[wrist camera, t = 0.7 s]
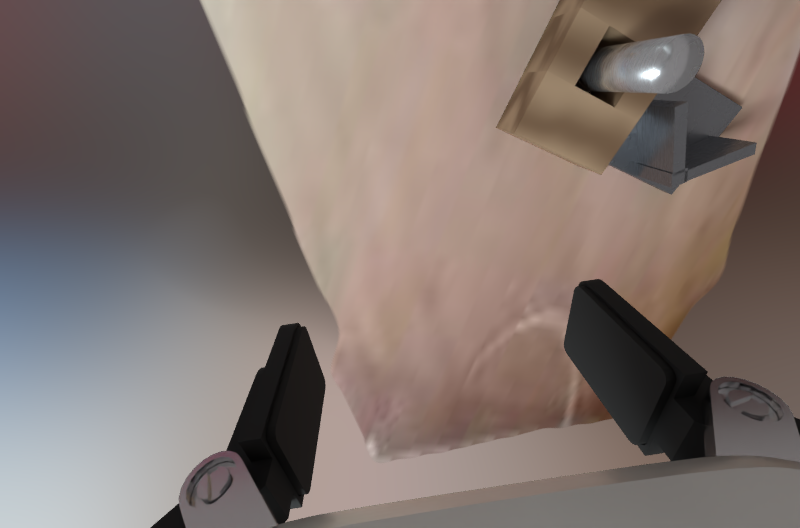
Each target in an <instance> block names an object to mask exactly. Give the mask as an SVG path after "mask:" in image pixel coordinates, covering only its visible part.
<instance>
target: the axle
mask: <svg viewBox="0 0 800 528" xmlns="http://www.w3.org/2000/svg"><path fill="white" fill-rule="evenodd" d="M703 57H704V46H703V42H702V40H701V39H700V38H699V37H698V36H697V35H695V34H689V33H688V34H681V35H675V36H668V37H662V38H656V39H650V40H643V41H637V42H631V43H625V44H618V45H612V46H606V47H600V48H596V50H595V52H594V53H593V55H592V57H591V59H590V60H589V62H588V64H587V66H586V67H585V69H584V71H583V72H582V74H581V76H580V78H579V79H578V81H577V83H576V85H575V86H576V87H578V88H580V89H581V90H583V91H598V92H629V93H661V94H669V93H674V92H677V91H679V90H680V89H682V88H684V87H685V86H686V85H687V84H688V83H690V81H691V80H692V79H693V78H694V77H695V75H696V74H697V72H698V70H699V69H700V66H701V64H702V61H703Z"/></svg>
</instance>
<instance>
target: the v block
mask: <svg viewBox="0 0 800 528" xmlns="http://www.w3.org/2000/svg"><path fill="white" fill-rule="evenodd" d="M741 109H742V107H741V106H740V105H738V104H736V103H735V102H733V101H732V100H730V99H728V98H727V97H725V96H724V95H722V94H721V93H719V92H717V91H716V90H714V89H713V88H711V87H709V86H708V85H706V84H705V83H703V82H702V81H700V80H698V79H697V78H695V77H694V78H693V79H692V80H691V81H690V83H688V84H687V85H686V86H685V87H684V88H682V89H680V90H679V91H677V92H674V93H669V94H661V93H657V95H656V96H655V97H654V99H653V100H652V102H651V103H650V105H649V106H648V108H647V109H646V111H645V112H644V113H643V115H642V116H641V118H640V119H639V121H638V122H637V124H636V125H635V127H634V128H633V129H632V131H631V132H630V134H629V135H628V137H627V138H626V140H625V141H624V143H623V144H622V145H621V147H620V148H619V150H618V151H617V153H616V154H615V156H614V157H613V159H612V160H611V161H610V163H609V164H608V165H610V166H612V167H614V168H616V169H618V170H620V171H622V172H625V173H627V174H629V175H631V176H633V177H635V178H637V179H639V180H641V181H643V182H645V183H647V184H649V185H651V186H653V187H656V188H658V189H660V190H662V191H664V192H666V193H669V194H672V193H673V192H674V191H675V190H676V189H677V187H678V186H679V185H680V184H683V183H685V182H687V181H688V180H690V179H693V178H695V177H698V176H701V175H703V174H706V173H708V172H711V171H713V170H716V169H718V168H721V167H723V166H726V165H728V164H731V163H733V162H736V161H738V160H741V159H743V158H746V157H748V156H751V155H754V154H755V149H756V143H755V142H749V141H742V140H736V139H729V138H722V137H719V136H720V134H721V133H722V132H723V131H724V129H725V128H726V127H727V126H728V125H729V123H730V122H731V121H732V120H733V118H734V117H735V116H736V115H737V114H738V112H739V111H740V110H741Z"/></svg>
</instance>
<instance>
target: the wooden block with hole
mask: <svg viewBox="0 0 800 528" xmlns="http://www.w3.org/2000/svg"><path fill="white" fill-rule="evenodd" d="M720 2H721V0H560V1H559V3H558V5H557V7H556V9H555V11H554V13H553V15H552V17H551V19H550V21H549V23H548V25H547V27H546V29H545V31H544V33H543V35H542V37H541V39H540V41H539V43H538V45H537V47H536V49H535V51H534V53H533V55H532V57H531V59H530V61H529V63H528V65H527V67H526V69H525V71H524V73H523V75H522V77H521V79H520V81H519V83H518V85H517V87H516V89H515V91H514V93H513V95H512V97H511V99H510V101H509V103H508V105H507V107H506V109H505V111H504V113H503V115H502V117H501V119H500V121H499V123H498V125H497V127H496V128H498V129H500V130H502V131H504V132H506V133H509V134H511V135H513V136H515V137H517V138H519V139H521V140H523V141H526V142H528V143H530V144H532V145H534V146H536V147H538V148H541V149H543V150H545V151H547V152H549V153H551V154H553V155H556V156H558V157H560V158H562V159H564V160H566V161H568V162H570V163H573V164H575V165H577V166H580V167H582V168H585V169H588V170H590V171H593V172H595V173H598V174H600V175H602V173H603V172H604V170H605V169H606V167H607V166H608V164H609V163H610V161H611V160H612V159H613V157H614V156H615V154H616V153H617V151H618V150H619V148H620V147H621V145H622V144H623V143H624V141H625V140H626V138H627V137H628V135H629V134H630V132H631V131H632V129H633V128H634V127H635V125H636V124H637V122H638V121H639V119H640V118H641V116H642V115H643V113H644V112H645V111H646V109H647V108H648V106H649V105H650V103H651V102H652V100H653V99H654V97H655V96H656V95H657V93H629V92H598V91H592V92H591V93H590V94H589V93H587V92H585V91H583V90H581V89H580V88H578V87H576V86H575V85H576V83H577V81H578V79H579V78H580V76H581V74H582V72H583V71H584V69H585V67H586V66H587V64H588V62H589V60H590V59H591V57H592V55H593V53H594V52H595V50H596V48H597V46H598V47H599V48H600V47H606V46H612V45H618V44H625V43H631V42H637V41H643V40H650V39H656V38H662V37H668V36H675V35H681V34H688V33H689V34H695V35H698V34H699V32H700V31H701V29H702V28H703V26H704V25H705V23H706V22H707V20H708V19H709V18H710V16H711V15H712V13H713V12H714V10H715V9H716V7H717V6H718V4H719V3H720Z"/></svg>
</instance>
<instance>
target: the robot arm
mask: <svg viewBox="0 0 800 528" xmlns="http://www.w3.org/2000/svg"><path fill="white" fill-rule="evenodd" d="M564 348H565V351H566V353H567V354H568V356H569V357H570V359H571V360H572V361H573V363H574V364H575V366H576V367H577V368H578V370H579V371H580V373H581V374H582V375H583V377H584V378H585V380H586V381H587V382H588V384H589V385H590V387H591V388H592V389H593V391H594V392H595V394H596V395H597V396H598V398H599V399H600V401H601V402H602V403H603V405H604V406H605V408H606V409H607V410H608V412H609V413H610V415H611V416H612V417H613V419H614V420H615V421H616V423H617V424H618V426H619V427H620V428H621V430H622V431H623V433H624V434H625V435H626V437H627V438H628V440H629V441H630V442H631V443H632V444H634V445H638V446H639V448H640V449H641V451H642V452H643V454H644V455H645V456H646V455H653V454H659V453H664V452H665V454H666V455H667V456H668V457H669V459H670V460H671V461H670V462H662V463H654V464H646V465H639V466H632V467H625V468H618V469H611V470H605V471H597V472H590V473H583V474H576V475H570V476H563V477H556V478H549V479H543V480H536V481H529V482H522V483H516V484H509V485H503V486H496V487H489V488H483V489H477V490H469V491H463V492H457V493H450V494H444V495H438V496H431V497H424V498H418V499H412V500H405V501H398V502H392V503H385V504H379V505H373V506H367V507H361V508H355V509H350V510H344V511H338V512H332V513H327V514H322V515H316V516H311V517H307V518H302V519H298V520H294V521H290V522H286V523H285V521H286V520H287V519H288V517H289V512H290V509H293V508H299V507H302V504H303V497H304V494H308V493H309V491H310V487H311V480H312V474H313V468H314V461H315V454H316V447H317V441H318V434H319V427H320V421H321V414H322V406H323V400H324V394H325V379H324V376H323V373H322V370H321V368H320V365H319V362H318V359H317V357H316V354H315V351H314V348H313V345H312V343H311V340H310V337H309V334H308V331H307V329H306V327H305V326H304V327H301V326H300V324H299V323H295V324H288V325H282V326H281V327H280V329H279V331H278V334H277V337H276V339H275V342H274V345H273V347H272V350H271V353H270V355H269V358H268V361H267V363H266V366H265V367H264V368H261V369H260V370H258V372H257V374H256V377H255V379H254V382H253V384H252V387H251V389H250V392H249V394H248V397H247V399H246V402H245V405H244V407H243V410H242V412H241V415H240V417H239V420H238V422H237V425H236V428H235V430H234V433H233V435H232V438H231V441H230V443H229V446H228V448H227V451H221V452H218V453H215V454H213V455H211V456H209V457H208V458H206V459H204V460H203V461H202V462H201V463H200V464H198V465H197V466H196V467H195V468H194V469H193V470H192V472H191V473H190V474H189V475H188V477H187V478H186V480H185V482H184V484H183V485H182V488H181V491H180V495H179V504H178V505H176V506H175V507H174V508H173V509H172V510H171V511H169V512H168V513H167V514H166V515H165V516H164V517H162V518H161V519H160V520H159V521H158V522H157V523H156V524H154V525H153V526H152V527H151V528H800V419H797V418H795V417H794V416H793V414H792V412H791V410H790V409H789V406H788V405H787V404H786V403H785V402H783V400H782V399H781V398H779V397H778V396H776V395H775V394H774V393H772V392H771V391H769V390H768V389H766V388H764V387H762V386H760V385H758V384H756V383H753V382H750V381H747V380H745V379H740V378H735V377H720V378H716V379H715V380H712V379H710V378H709V377H708V376H707V375H706V374H707V371H706V370H705V369H704V368H703V367H701V366H700V365H699V364H698V363H697V362H696V361H695V360H694V359H692V358H691V357H690V356H689V355H688V354H686V353H685V352H684V351H683V350H682V349H681V348H679V347H678V346H677V345H676V344H675V343H674V342H673V341H672V340H670V339H669V338H668V337H667V336H666V335H665V334H664V333H662V332H661V331H660V330H659V329H658V328H657V327H655V326H654V325H653V324H652V323H651V322H650V321H648V320H647V319H646V318H645V317H644V316H643V315H642V314H640V313H639V312H638V311H637V310H636V309H635V308H633V307H632V306H631V305H630V304H629V303H628V302H627V301H625V300H624V299H623V298H622V297H621V296H620V295H618V294H617V293H616V292H615V291H614V290H613V289H612V288H610V287H609V286H608V285H607V284H606V283H605V282H603V281H602V280H600V279H595V280H589V281H582V282H580V284H579V286H577V287H576V288H575V290H574V294H573V299H572V304H571V309H570V315H569V320H568V325H567V330H566V335H565V340H564Z"/></svg>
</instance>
